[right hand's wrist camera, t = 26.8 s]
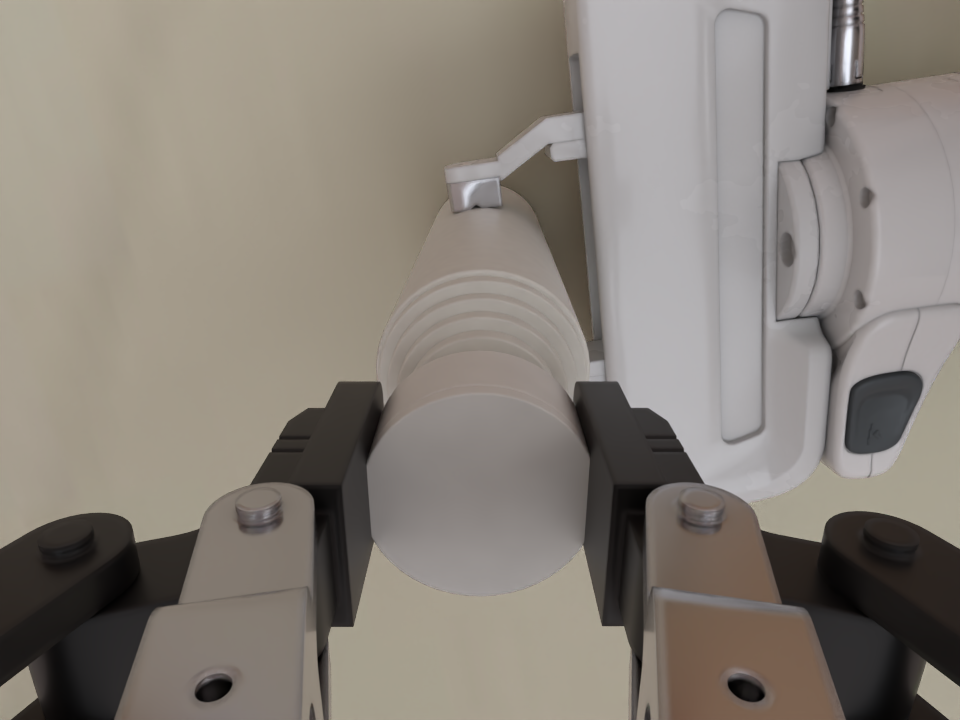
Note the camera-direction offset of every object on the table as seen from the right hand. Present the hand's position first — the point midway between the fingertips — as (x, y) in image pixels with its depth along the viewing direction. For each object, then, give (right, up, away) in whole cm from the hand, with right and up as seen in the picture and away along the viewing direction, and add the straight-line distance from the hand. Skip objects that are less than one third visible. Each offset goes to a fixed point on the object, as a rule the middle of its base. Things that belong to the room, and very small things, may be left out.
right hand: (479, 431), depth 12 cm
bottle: (0, +7, +18) cm, 19 cm away
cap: (0, -1, -1) cm, 2 cm away
